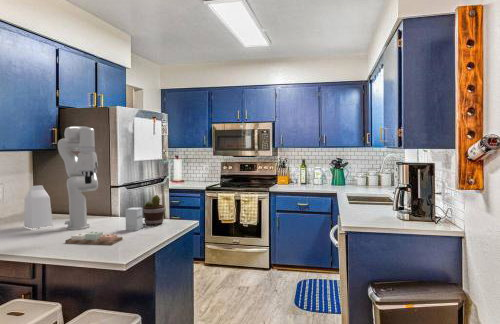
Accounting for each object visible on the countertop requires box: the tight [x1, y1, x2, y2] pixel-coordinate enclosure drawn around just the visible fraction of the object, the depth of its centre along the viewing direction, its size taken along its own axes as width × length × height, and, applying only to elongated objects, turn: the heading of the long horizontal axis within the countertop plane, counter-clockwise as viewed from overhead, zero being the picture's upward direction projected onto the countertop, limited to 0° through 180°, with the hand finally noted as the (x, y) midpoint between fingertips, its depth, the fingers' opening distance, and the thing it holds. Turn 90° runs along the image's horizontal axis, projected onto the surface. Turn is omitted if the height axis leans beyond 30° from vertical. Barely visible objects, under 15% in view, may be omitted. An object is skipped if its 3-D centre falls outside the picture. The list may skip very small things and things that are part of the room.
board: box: [64, 236, 124, 246], centre depth 185 cm, size 26×10×2 cm, turn 80°
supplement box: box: [124, 207, 144, 232], centre depth 212 cm, size 7×7×13 cm
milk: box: [23, 184, 54, 229], centre depth 222 cm, size 12×12×26 cm
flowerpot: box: [141, 193, 166, 226], centre depth 226 cm, size 14×15×20 cm
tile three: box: [100, 233, 118, 241], centre depth 183 cm, size 6×6×3 cm
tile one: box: [70, 232, 88, 240], centre depth 186 cm, size 6×6×3 cm
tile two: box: [85, 231, 104, 240], centre depth 184 cm, size 6×6×3 cm
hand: (88, 183), depth 196 cm, fingers closed
